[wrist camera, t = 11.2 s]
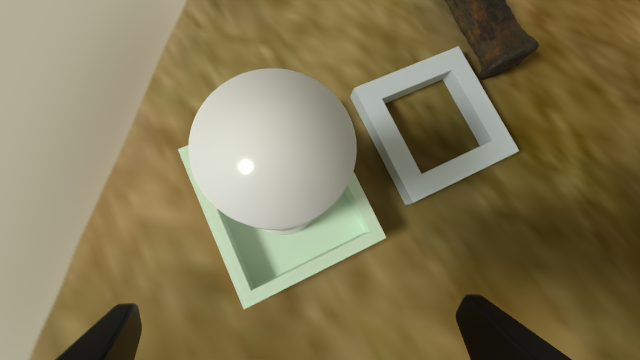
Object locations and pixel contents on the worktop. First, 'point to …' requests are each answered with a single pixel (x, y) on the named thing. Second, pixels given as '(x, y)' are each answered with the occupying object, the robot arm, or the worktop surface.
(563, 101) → the worktop surface
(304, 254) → the parts tray
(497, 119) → the rectangular open frame
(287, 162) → the mushroom-shaped knob
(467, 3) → the hand tool
